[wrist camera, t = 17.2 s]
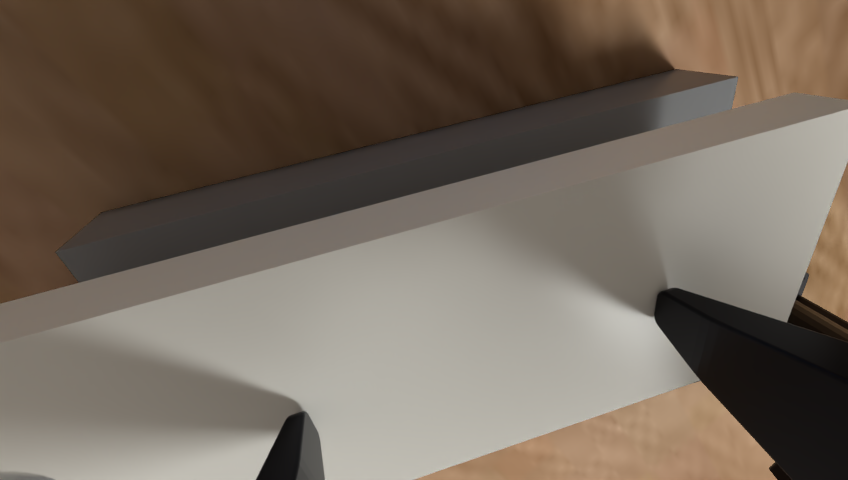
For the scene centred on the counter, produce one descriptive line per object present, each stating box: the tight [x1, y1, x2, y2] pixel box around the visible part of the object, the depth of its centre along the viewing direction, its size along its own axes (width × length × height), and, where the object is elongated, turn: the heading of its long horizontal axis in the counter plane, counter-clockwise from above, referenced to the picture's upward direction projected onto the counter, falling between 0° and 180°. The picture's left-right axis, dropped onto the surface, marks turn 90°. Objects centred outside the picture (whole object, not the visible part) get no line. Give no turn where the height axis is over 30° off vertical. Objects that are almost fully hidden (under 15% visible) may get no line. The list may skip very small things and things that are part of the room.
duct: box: [56, 69, 738, 283], centre depth 13 cm, size 22×8×5 cm, turn 101°
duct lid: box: [0, 93, 848, 480], centre depth 10 cm, size 21×8×2 cm, turn 101°
